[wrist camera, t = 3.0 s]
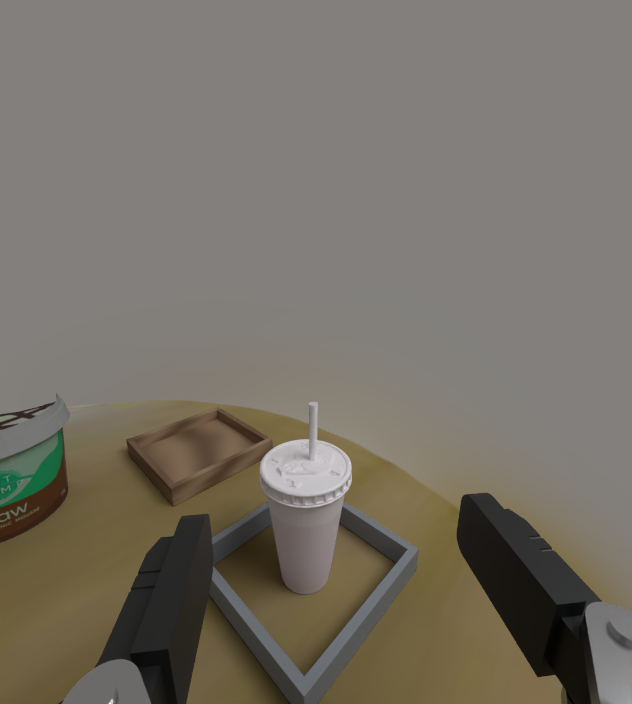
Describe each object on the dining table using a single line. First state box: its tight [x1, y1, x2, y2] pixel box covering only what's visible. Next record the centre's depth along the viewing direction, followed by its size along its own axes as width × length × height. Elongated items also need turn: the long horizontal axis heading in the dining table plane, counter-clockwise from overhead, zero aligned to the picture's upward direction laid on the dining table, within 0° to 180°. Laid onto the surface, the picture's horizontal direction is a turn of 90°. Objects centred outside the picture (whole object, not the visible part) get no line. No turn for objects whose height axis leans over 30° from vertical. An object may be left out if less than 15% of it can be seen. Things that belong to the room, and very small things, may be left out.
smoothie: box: [259, 402, 352, 594], centre depth 24 cm, size 6×6×14 cm
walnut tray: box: [127, 407, 273, 506], centre depth 40 cm, size 12×12×2 cm
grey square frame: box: [209, 501, 419, 704], centre depth 25 cm, size 12×12×2 cm
